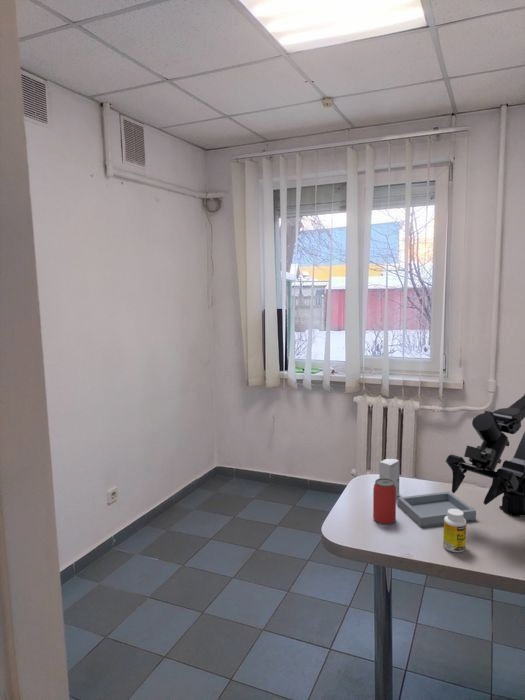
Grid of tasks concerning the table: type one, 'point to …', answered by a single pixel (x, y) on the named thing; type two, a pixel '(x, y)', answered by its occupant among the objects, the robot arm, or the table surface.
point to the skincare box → (390, 471)
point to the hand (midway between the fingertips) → (468, 498)
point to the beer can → (384, 501)
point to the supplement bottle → (454, 531)
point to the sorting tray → (433, 508)
